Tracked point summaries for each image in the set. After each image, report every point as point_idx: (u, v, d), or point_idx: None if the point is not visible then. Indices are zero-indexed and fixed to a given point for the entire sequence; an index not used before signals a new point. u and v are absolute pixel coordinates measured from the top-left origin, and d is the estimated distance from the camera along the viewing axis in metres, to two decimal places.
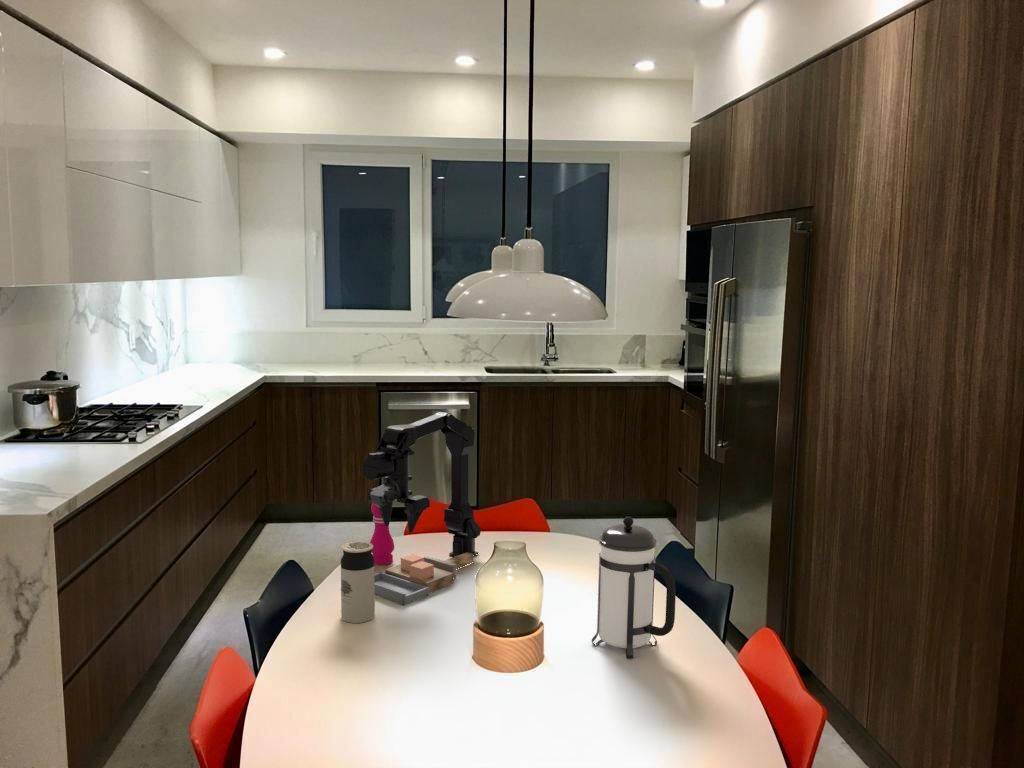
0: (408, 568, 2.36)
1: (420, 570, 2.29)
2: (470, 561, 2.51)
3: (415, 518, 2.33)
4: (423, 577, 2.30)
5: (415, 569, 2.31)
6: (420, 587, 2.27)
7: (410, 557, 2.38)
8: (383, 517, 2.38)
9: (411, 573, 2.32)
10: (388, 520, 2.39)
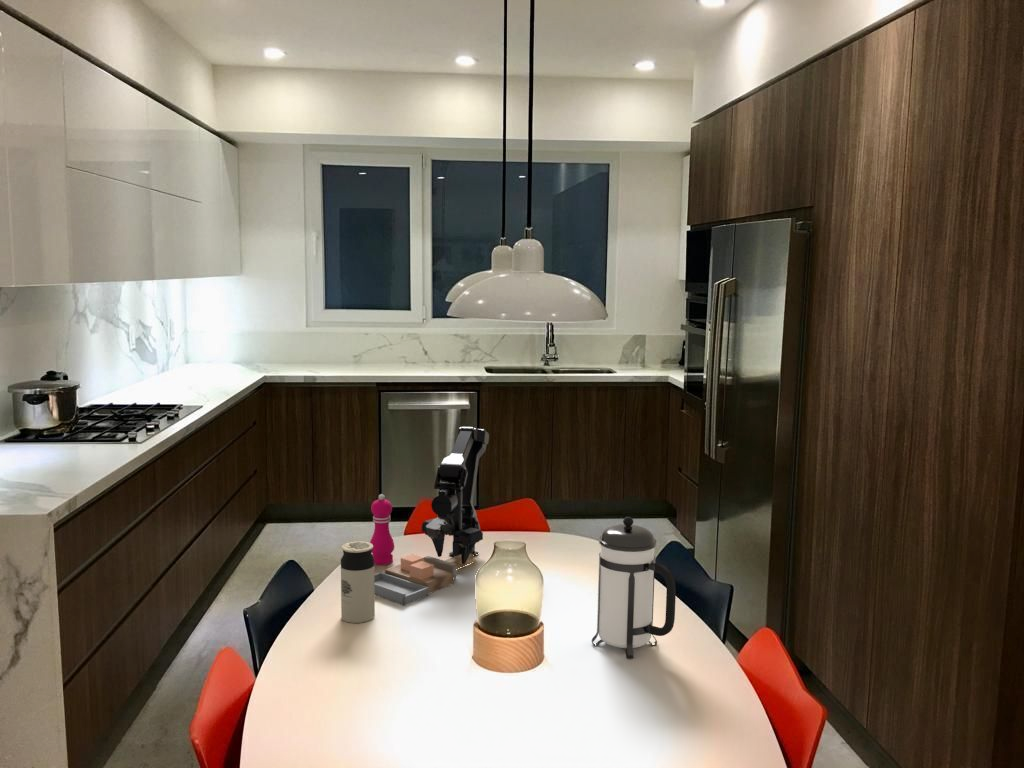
0: (408, 568, 2.36)
1: (420, 570, 2.29)
2: (470, 561, 2.51)
3: (468, 550, 2.42)
4: (423, 577, 2.30)
5: (415, 569, 2.31)
6: (420, 587, 2.27)
7: (410, 557, 2.38)
8: (436, 548, 2.48)
9: (411, 573, 2.32)
10: (441, 551, 2.49)
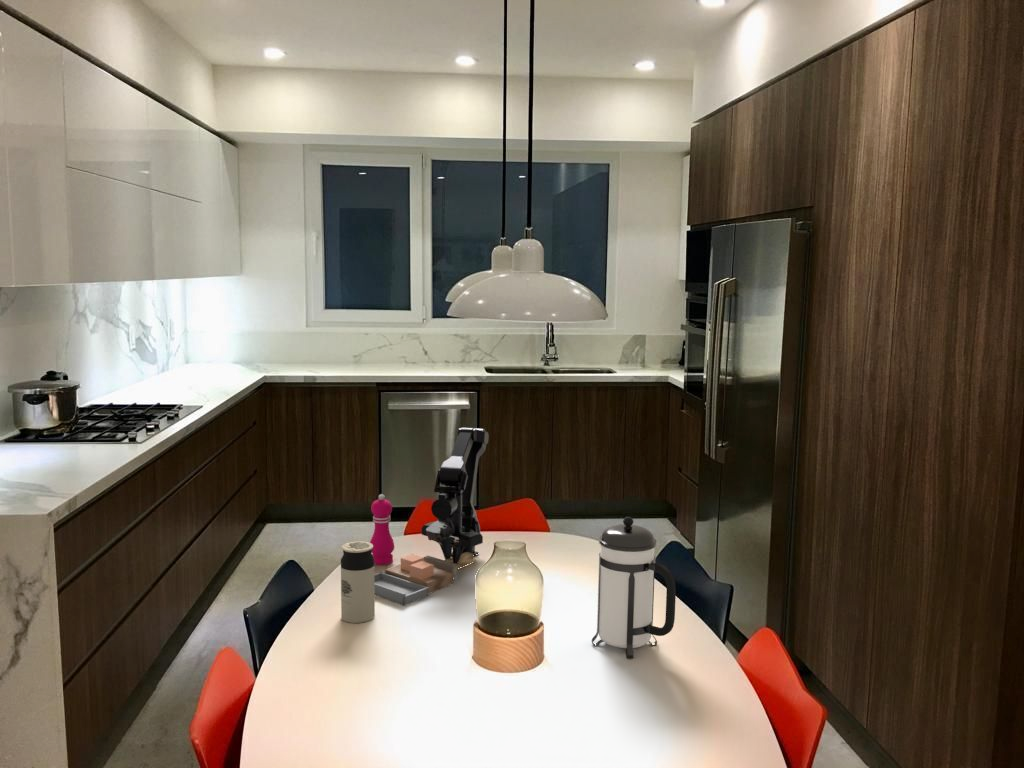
0: (408, 568, 2.36)
1: (420, 570, 2.29)
2: (470, 561, 2.51)
3: (459, 551, 2.44)
4: (423, 577, 2.30)
5: (415, 569, 2.31)
6: (420, 587, 2.27)
7: (410, 557, 2.38)
8: (444, 554, 2.46)
9: (411, 573, 2.32)
10: (449, 557, 2.47)
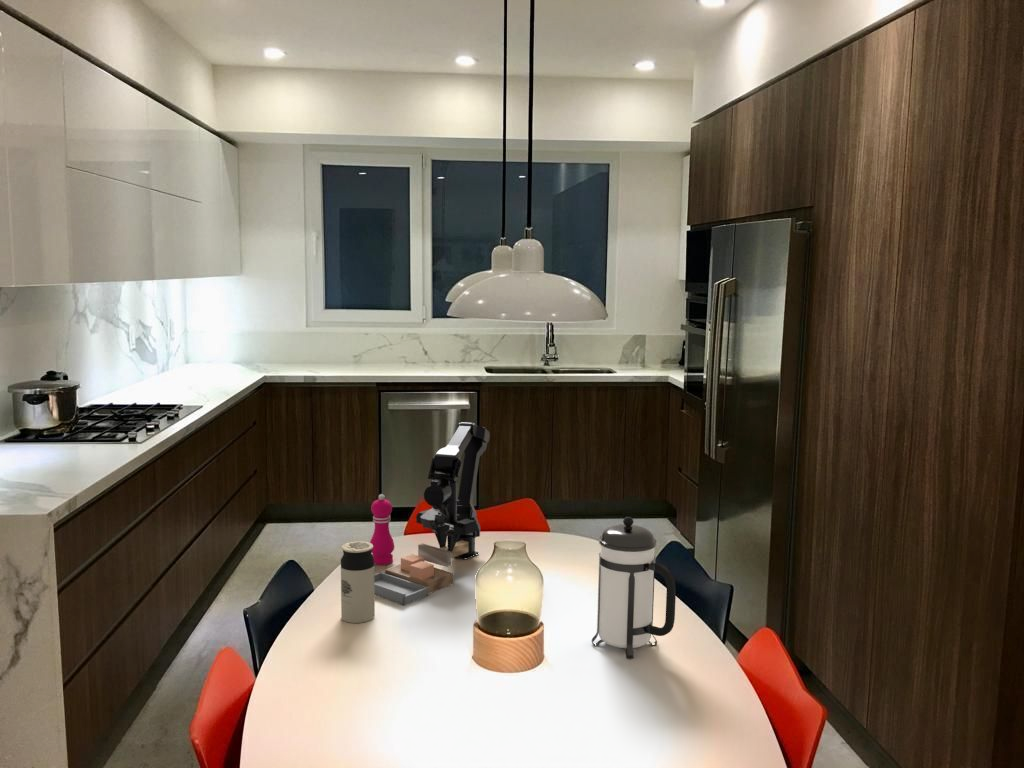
0: (408, 568, 2.36)
1: (420, 570, 2.29)
2: (465, 549, 2.48)
3: (454, 539, 2.42)
4: (423, 577, 2.30)
5: (415, 569, 2.31)
6: (420, 587, 2.27)
7: (410, 557, 2.38)
8: (439, 542, 2.44)
9: (411, 573, 2.32)
10: (444, 545, 2.45)
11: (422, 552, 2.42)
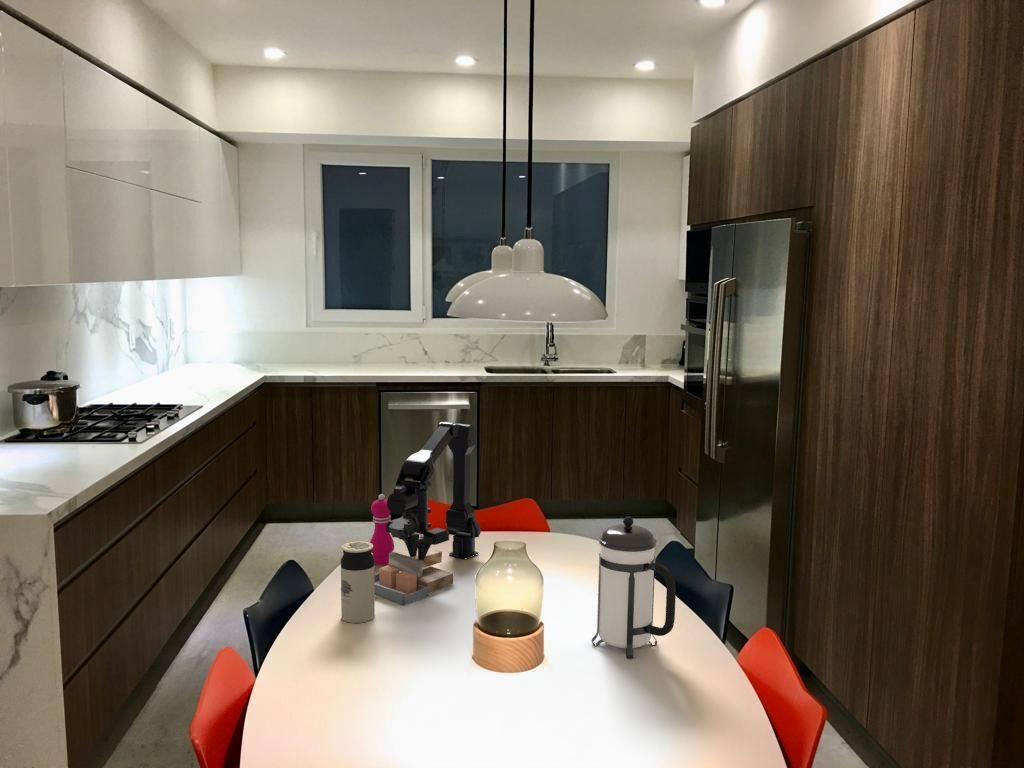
0: None
1: None
2: (438, 559, 2.40)
3: (425, 549, 2.33)
4: (415, 589, 2.27)
5: None
6: (420, 587, 2.27)
7: (384, 578, 2.31)
8: (410, 552, 2.35)
9: None
10: (414, 555, 2.36)
11: (393, 561, 2.33)
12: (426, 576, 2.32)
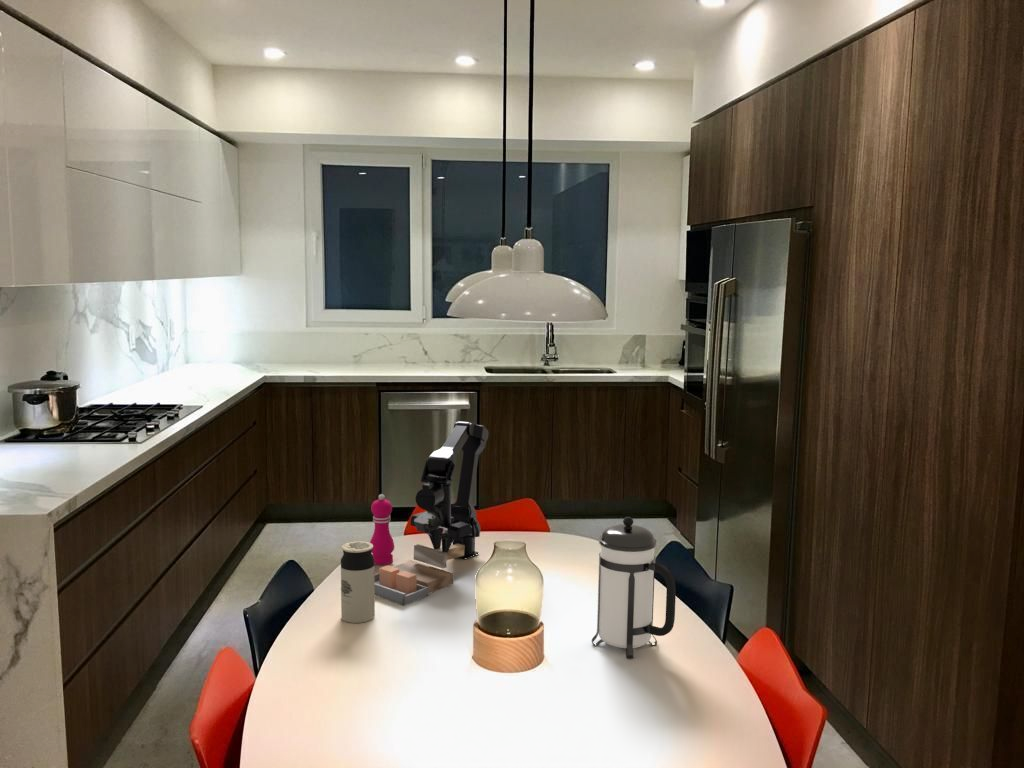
0: None
1: None
2: (461, 552, 2.47)
3: (449, 542, 2.41)
4: (415, 589, 2.27)
5: None
6: (420, 587, 2.27)
7: (384, 578, 2.31)
8: (434, 545, 2.42)
9: None
10: (438, 548, 2.43)
11: (418, 553, 2.41)
12: (426, 576, 2.32)
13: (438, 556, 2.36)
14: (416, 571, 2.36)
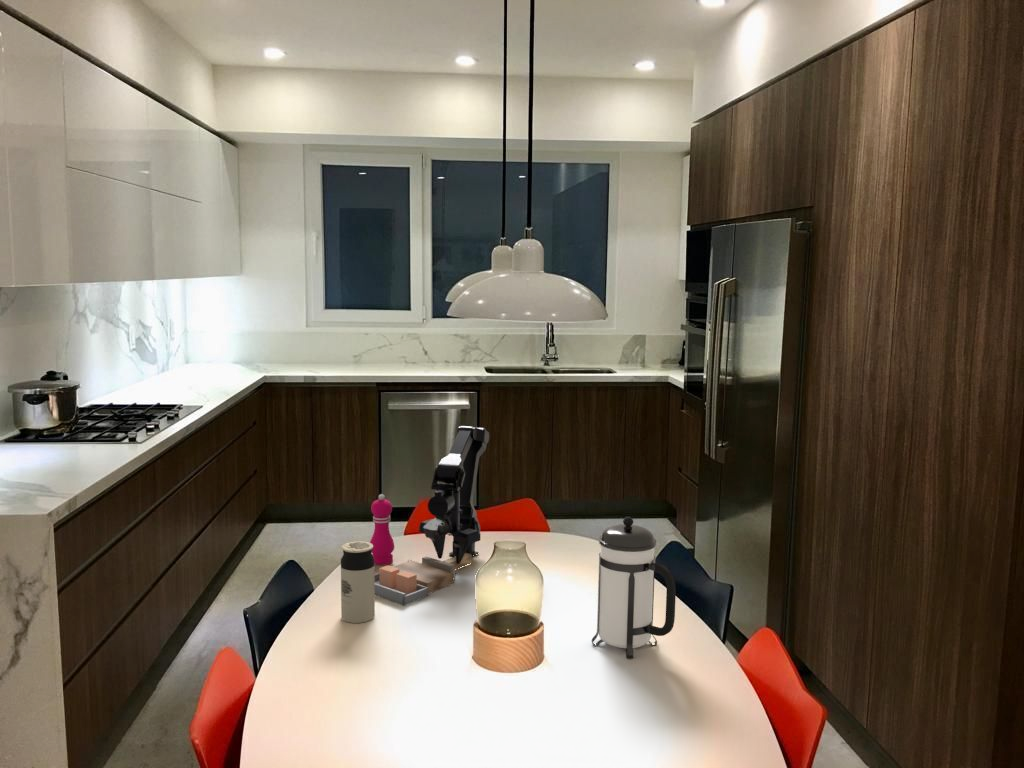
0: None
1: None
2: (469, 561, 2.50)
3: (463, 550, 2.42)
4: (415, 589, 2.27)
5: None
6: (420, 587, 2.27)
7: (384, 578, 2.31)
8: (437, 550, 2.46)
9: None
10: (441, 553, 2.47)
11: None
12: (426, 576, 2.32)
13: (446, 568, 2.39)
14: (416, 571, 2.36)
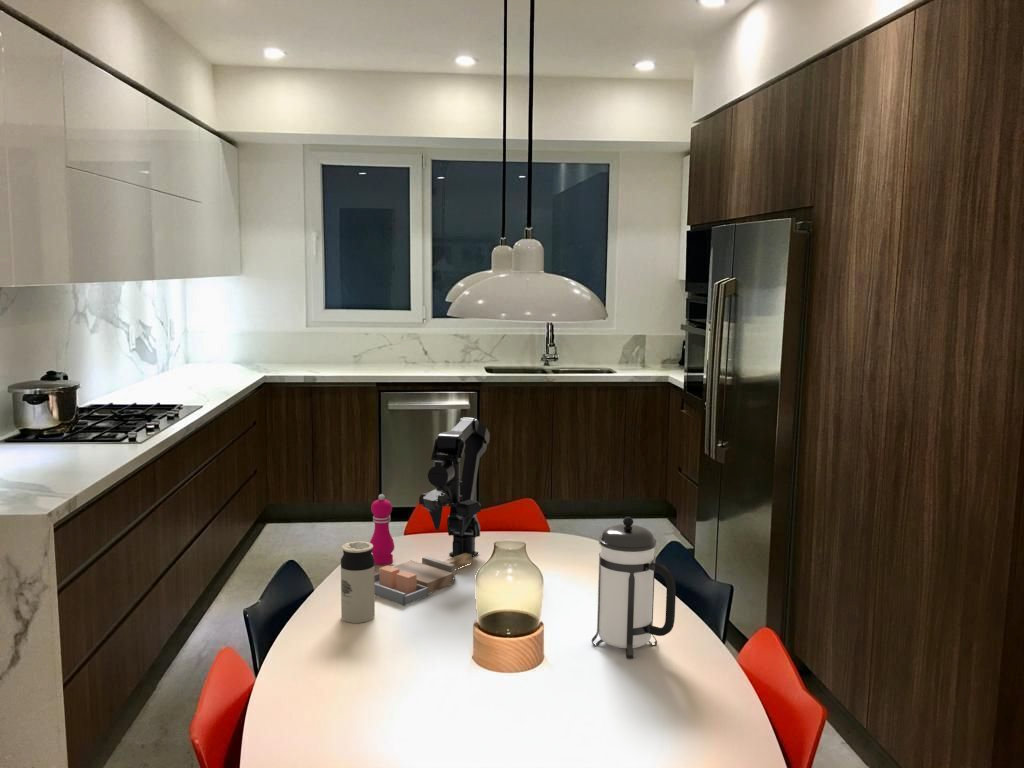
0: None
1: None
2: (469, 562, 2.50)
3: (466, 522, 2.40)
4: (415, 589, 2.27)
5: None
6: (420, 587, 2.27)
7: (384, 578, 2.31)
8: (434, 521, 2.46)
9: None
10: (438, 524, 2.47)
11: None
12: (426, 576, 2.32)
13: (446, 568, 2.39)
14: (416, 571, 2.36)
